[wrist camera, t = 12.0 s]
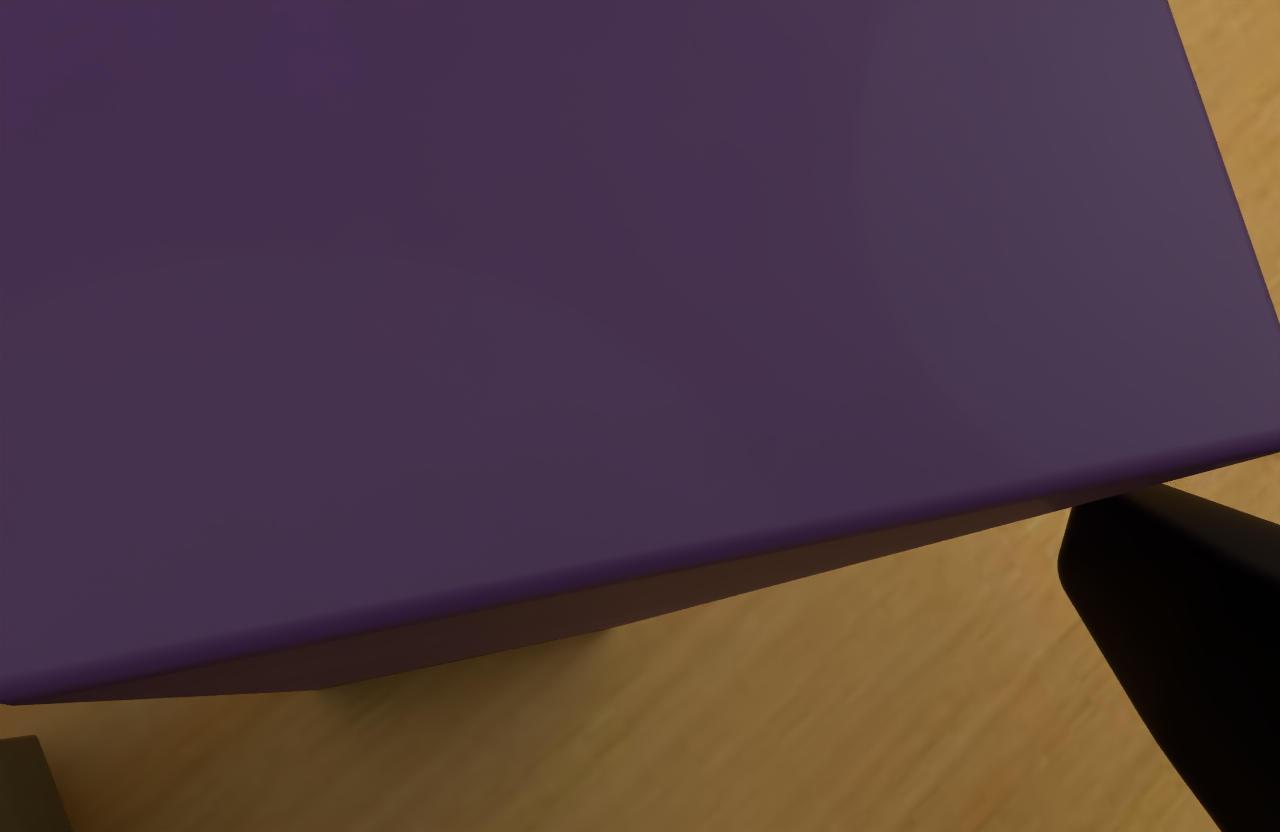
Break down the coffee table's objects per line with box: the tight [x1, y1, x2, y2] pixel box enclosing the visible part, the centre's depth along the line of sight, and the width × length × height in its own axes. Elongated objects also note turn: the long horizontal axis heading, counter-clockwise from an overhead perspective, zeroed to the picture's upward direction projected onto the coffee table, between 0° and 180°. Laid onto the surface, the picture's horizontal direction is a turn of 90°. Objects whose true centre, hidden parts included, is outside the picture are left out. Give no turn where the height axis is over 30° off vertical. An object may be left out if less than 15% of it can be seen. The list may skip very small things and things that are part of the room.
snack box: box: [0, 0, 1280, 706], centre depth 9 cm, size 5×4×12 cm
